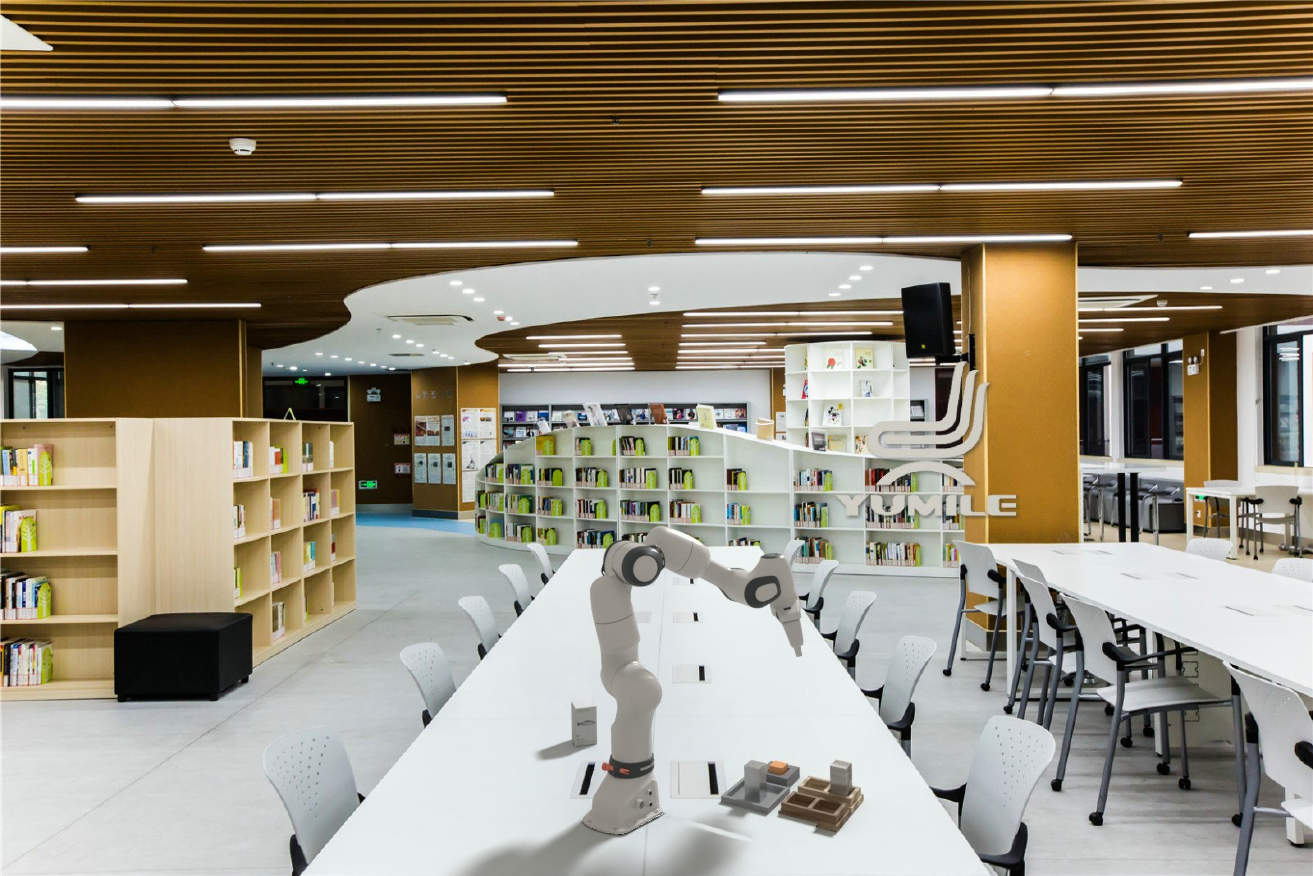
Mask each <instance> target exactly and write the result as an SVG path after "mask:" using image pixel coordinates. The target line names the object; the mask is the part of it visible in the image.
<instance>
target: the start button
mask: <svg viewBox="0 0 1313 876" xmlns="http://www.w3.org/2000/svg"><path fill="white" fill-rule="evenodd" d="M788 765H789V763H788V762H784V761H779V760H774V762H773V763H772V764H770V765H769V772H774V773H778V774H782V775H783V774H785V773H786V772H787V771H788Z"/></svg>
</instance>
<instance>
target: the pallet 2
mask: <svg viewBox="0 0 1313 876" xmlns="http://www.w3.org/2000/svg"><path fill="white" fill-rule="evenodd" d="M777 811H778V812H777V813H778V814H781V815H785V816H787V817H791V818H796V819H799V820H803V821H807V822H811V823H815V824H816V825H815V827H816V828H821V829H823V830H827V829H829V830H828V831H831V830H832V831H831V832H835V831H836V833H838V832H837V831H839V830H840V829H841V828H842V827H843V826H842V825H844V824H845V823H846V822H847V821H846V820H848V819H850V818H851V817H850V816H851V814H850V811H849V810H847V804H846V803H841V802H837V801H833V800H829V799H825V798H821V797H817V796H812V795H808V794H804V793H800V792H798V791H795V790H793V791H791V792H790V794H789V795H788V796H787V797H785V798H784V799H783V800H782V801H781V802H780V808H779V810H777Z"/></svg>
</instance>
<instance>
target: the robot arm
mask: <svg viewBox="0 0 1313 876" xmlns="http://www.w3.org/2000/svg"><path fill="white" fill-rule="evenodd" d="M664 569H666V570H668V571H670V572H672V573H674V574H675V575H679V576H681V577H684V578H688V579H691V580H692V579H693V580H696V579H699V578H701V579H702V580H704V581H706V582H708V583H710V584H711V585H713V586H716V587H717V588H718V589H719V591H721V593H722V594H723V596H724V597H725V598H726V599H727V600H730V602H734V603H739V604H741V605H744V606H747V607H749V608H753V609H762V608H765V607H767V606H769V607H770V611H771V615H772V617H773V616H774V617H775V618H776V619H777V620H778V622H779V624H781V625H782V627H783V630H784V632H785V635H786V637H787V640H788V642H789V645H790V646H791V648H792V649H793V650H794V653H795V657H796V658H798V657H799V658H800V657H802V656H803V651H802V646H804V635H803V629H802V624H801V622H802V621H801V619H802V613H801V611H802V605H801V601H800V597H799V593H798V591H797V588H796V586H795V577H794V573H793V570H792V567H791V564H790V561H789V560H788V558H787V556H786V555H784V554H782V553H777V552H772V553H771V552H769V553H765V554H763V555H761V556H760V558H759V560H758V563H757V564H756V565H755V566H754V568H753V569H752V570H751V571H748V570H746V569H744V568H742V567H726V566H725V565H724V564H721V563H720V562H718V561H715V560H713V559H712V558H711V551H710V549H709V547H707V546H706V545H705V544H703V543H702V542H701V541H699V540H698V539H696V538H694V537H693V536H691V535H689V534H688V533H685V532H683V531H679V530H677V529H675V528H671V527H669V526H668V527H667V526H664V525H658V526H655V527H653V528H652V529H651V530H650V531H649V532H648V533H647V535H646V537H645V539H644V540H643V541H642V542H640V543H639V542H636V541H630V540H628V539H620V540H615V541H613V542H611V543H610V544H609V545H608V546H607V547H606V549H605V550H604V554H603V561H602V565H601V569H600V572H601V576H599V577H598V578H595V580H593V582H592V583H591V585H590V587H589V598H590V599H589V600H590V607H591V614H592V619H593V623H594V628H595V631H596V636H597V639H598V644H599V649H600V660H601V661H600V663H601V668H600V673H599V674H600V680H601V683H602V685H603V687H604V689H605V691H606V693H608V694H609V695H610V696H611V697H612V698H613V699H615V700H616V701H615V702H616V706H617V707H616V714H615V719H614V722H613V723H612V724H611V727H610V744H611V745H610V749H611V750H610V751H611V754H610V756H609V759H608V762H605V761H604V762H603V763H602V764H601V770H602V771H606V772H607V773H606V775H605V776H604V778H603V780H602V782H600V785H599V787H598V788H597V790H596V791H595V793H594V795H593V796H592V802H591V809H590V810H589V811H588V812H587V813H585V815H584V816H583V817H582V823H583V822H584V823H583V824H584V825H585V824H586V825H587V826H586V825H585V826H586V827H588V826H589V827H588V828H590V829H592V828H593V829H592V830H595V829H596V830H595V831H598V832H601V833H605V834H609V833H611V834H610V835H618V834H622V835H625V834H624V833H627V832H629V831H631V830H632V829H635V828H636V827H638V826H640V825H641V824H644V823H646V822H648V821H649V820H651V819H654V818H655V817H656V816H658V815H661V814H662V813H663V814H664V809H663V808H662V807H661V804H660V794H659V787H658V786H659V785H658V781H657V779H656V776H655V772H654V769H655V755H654V753H653V736H652V735H653V720H654V717H655V711H656V708H658V707H659V705H660V704H661V701H662V697H663V687H662V686H661V683H660V682H659V680H658V678H657V677H656V676H655V675H654V674H653V673H652V672H651V671H649V669H646V668H645V667H643V665H642V663H641V660H640V657H639V644H640V641H641V636H640V632H639V627H638V623H637V618H636V614H635V611H634V607H633V603H632V600H631V599H632V597H631V596H632V595H631V594H632V593H631V592H632V588H633V587H637V588H642V587H643V588H644V587H648V586H650V585H652V584H654V582H656V580H657V579H658V577H659V576H660V574H661V572H662V571H663V570H664ZM661 816H662V815H661ZM654 820H655V819H654ZM648 823H649V822H648ZM646 824H647V823H646ZM644 825H645V824H644ZM640 827H641V826H640ZM638 828H639V827H638ZM635 830H636V829H635ZM631 832H632V831H631ZM613 833H614V834H613ZM629 833H630V832H629ZM627 834H628V833H627Z"/></svg>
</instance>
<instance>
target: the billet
mask: <svg viewBox="0 0 1313 876" xmlns="http://www.w3.org/2000/svg"><path fill="white" fill-rule="evenodd" d="M766 765H767V762H763V761H759V760H754V759H750V760H749V761H747V762H746V763H745V764H744V765H743V774H744V775H743V777H744V787H745V799H749V800H752V801H756V802H761V801H762V800H763V799H764V798H765V797H766V796H767V777H766Z"/></svg>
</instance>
